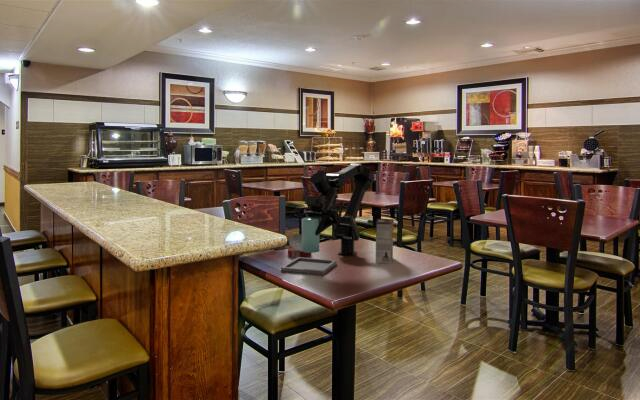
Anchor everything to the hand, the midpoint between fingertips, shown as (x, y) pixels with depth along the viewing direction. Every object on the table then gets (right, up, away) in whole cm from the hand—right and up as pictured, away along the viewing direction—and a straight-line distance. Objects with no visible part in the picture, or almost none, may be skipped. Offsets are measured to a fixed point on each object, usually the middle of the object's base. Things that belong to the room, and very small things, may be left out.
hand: (308, 233), depth 169 cm
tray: (0, -13, +3) cm, 13 cm away
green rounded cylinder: (+1, -6, +2) cm, 7 cm away
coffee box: (+30, -12, +14) cm, 35 cm away
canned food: (-4, -11, +23) cm, 26 cm away
